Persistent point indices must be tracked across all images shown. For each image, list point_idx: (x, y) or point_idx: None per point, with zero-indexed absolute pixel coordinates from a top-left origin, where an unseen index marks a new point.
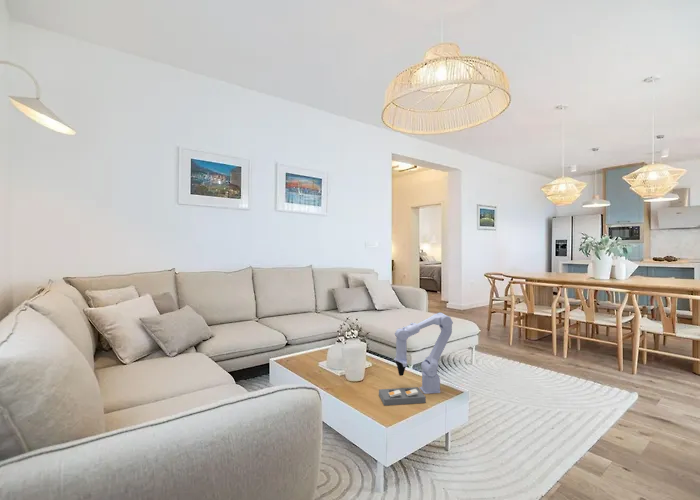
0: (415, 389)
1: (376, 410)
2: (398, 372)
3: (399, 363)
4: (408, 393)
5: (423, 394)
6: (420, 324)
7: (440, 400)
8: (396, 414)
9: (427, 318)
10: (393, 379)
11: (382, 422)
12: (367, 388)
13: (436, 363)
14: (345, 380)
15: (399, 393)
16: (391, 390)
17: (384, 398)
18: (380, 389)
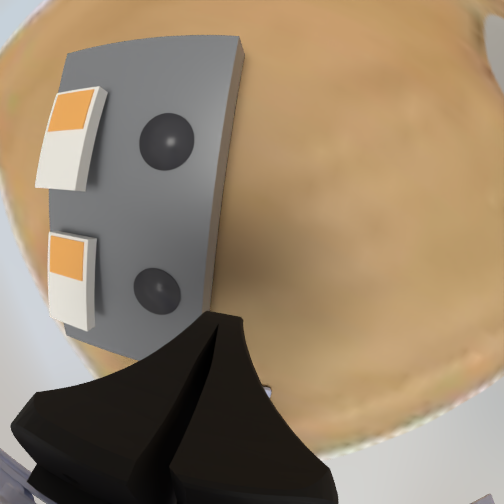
0: (77, 322)
1: (73, 23)
2: (236, 330)
3: (79, 481)
4: (53, 248)
5: (93, 344)
6: None
7: None
8: (18, 118)
9: None
10: (453, 293)
11: (5, 54)
12: (386, 33)
13: None
14: (494, 10)
15: (39, 171)
16: (175, 139)
17: (79, 55)
18: (234, 49)
